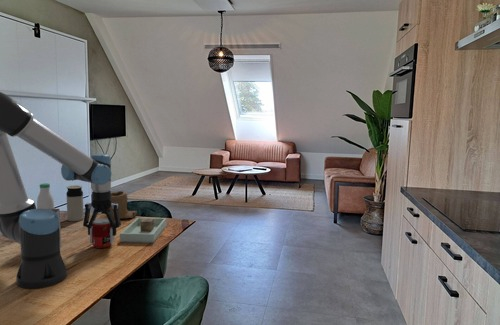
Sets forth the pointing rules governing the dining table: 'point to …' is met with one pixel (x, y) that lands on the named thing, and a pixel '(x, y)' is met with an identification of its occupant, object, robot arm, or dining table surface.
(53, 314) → the dining table surface
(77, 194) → the travel mug
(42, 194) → the milk bottle
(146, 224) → the walnut cube
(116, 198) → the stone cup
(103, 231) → the canned food
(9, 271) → the dining table surface
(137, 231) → the tray
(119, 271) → the dining table surface
